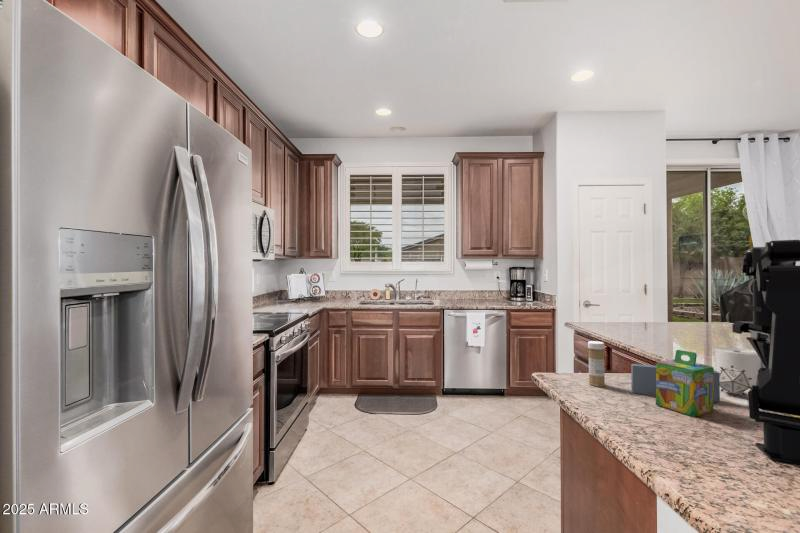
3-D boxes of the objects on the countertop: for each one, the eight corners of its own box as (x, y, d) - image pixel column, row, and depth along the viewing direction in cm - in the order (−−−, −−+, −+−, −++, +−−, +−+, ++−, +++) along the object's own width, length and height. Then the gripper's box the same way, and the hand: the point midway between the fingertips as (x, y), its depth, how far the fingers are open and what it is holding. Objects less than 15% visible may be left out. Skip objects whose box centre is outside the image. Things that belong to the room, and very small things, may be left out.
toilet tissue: (707, 376, 122) (707, 346, 122) (748, 378, 120) (747, 347, 120) (731, 386, 111) (730, 354, 111) (776, 388, 109) (775, 355, 109)
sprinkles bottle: (603, 383, 115) (603, 341, 115) (605, 388, 111) (605, 343, 111) (587, 382, 117) (587, 340, 117) (589, 386, 113) (588, 342, 113)
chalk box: (654, 405, 97) (654, 349, 97) (675, 400, 100) (674, 346, 101) (695, 418, 88) (694, 357, 88) (715, 411, 92) (714, 353, 92)
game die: (742, 409, 103) (768, 387, 97) (710, 396, 105) (734, 375, 99) (730, 385, 110) (754, 364, 104) (700, 374, 112) (723, 353, 106)
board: (719, 402, 98) (719, 372, 98) (633, 393, 106) (632, 365, 106) (716, 399, 100) (715, 370, 100) (631, 390, 108) (631, 363, 108)
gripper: (854, 307, 70) (856, 388, 70) (787, 299, 88) (788, 364, 88) (781, 305, 74) (782, 382, 74) (730, 298, 92) (731, 360, 91)
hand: (771, 371), depth 82 cm, fingers closed
